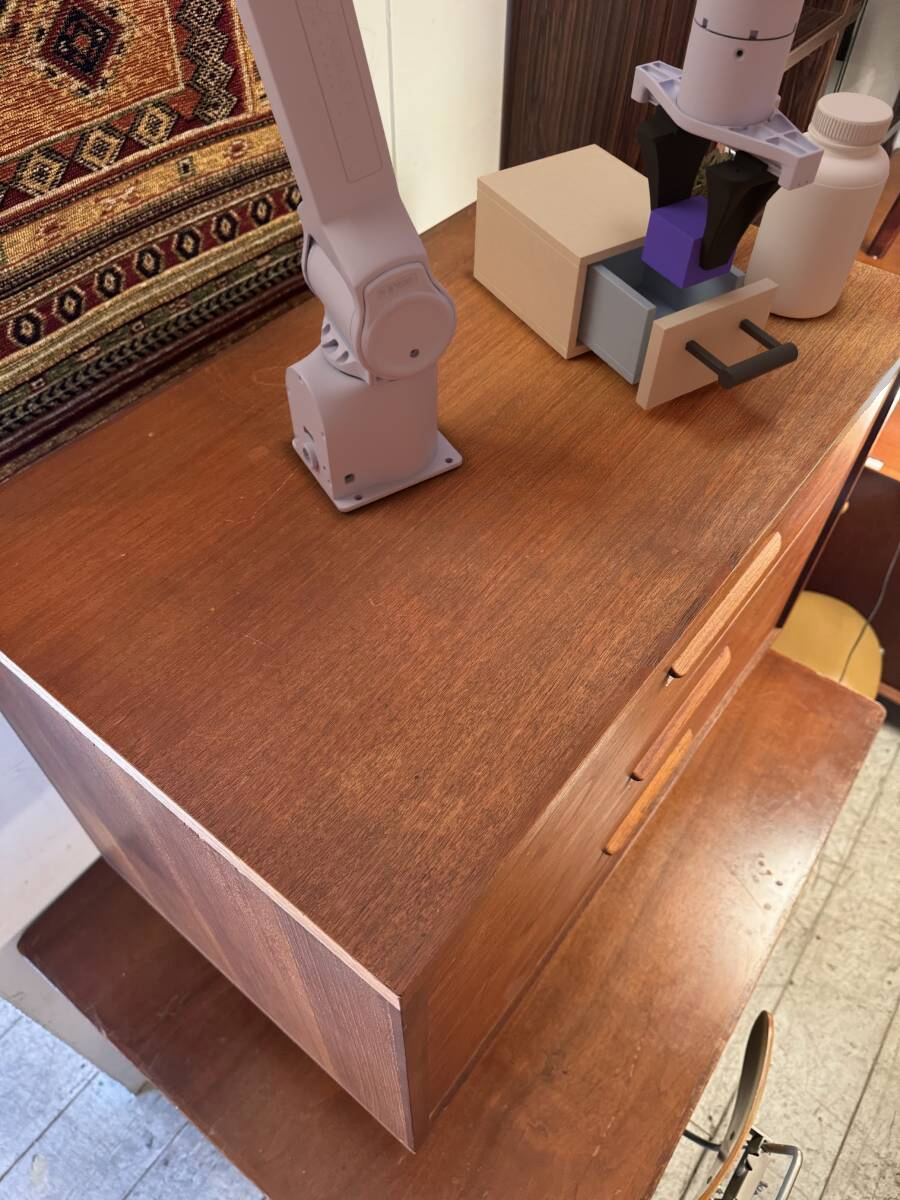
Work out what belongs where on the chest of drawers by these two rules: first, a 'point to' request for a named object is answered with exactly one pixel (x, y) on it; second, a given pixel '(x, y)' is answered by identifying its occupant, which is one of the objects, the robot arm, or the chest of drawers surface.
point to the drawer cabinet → (556, 234)
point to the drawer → (678, 328)
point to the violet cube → (680, 243)
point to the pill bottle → (825, 208)
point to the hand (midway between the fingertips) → (689, 247)
